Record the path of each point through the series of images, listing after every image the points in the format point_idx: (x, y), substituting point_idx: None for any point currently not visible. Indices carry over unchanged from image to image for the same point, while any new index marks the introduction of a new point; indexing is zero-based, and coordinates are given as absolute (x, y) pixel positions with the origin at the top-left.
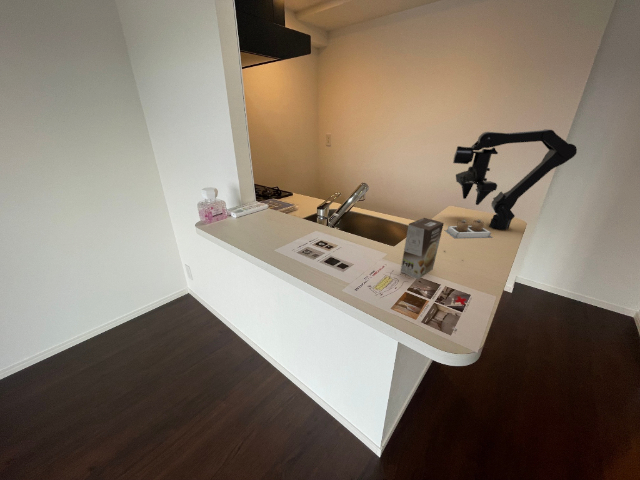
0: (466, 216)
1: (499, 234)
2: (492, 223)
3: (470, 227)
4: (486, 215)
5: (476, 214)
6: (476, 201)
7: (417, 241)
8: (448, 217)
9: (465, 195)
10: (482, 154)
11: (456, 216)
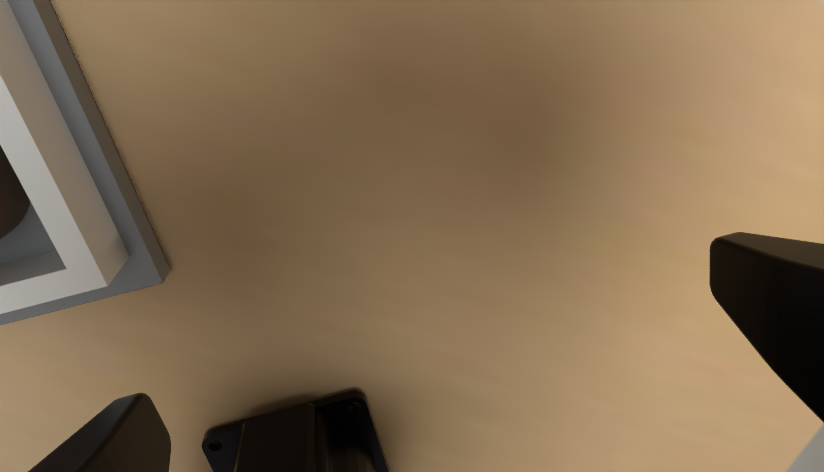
0: (693, 275)
1: None
2: (271, 453)
3: (9, 142)
4: (715, 468)
5: (750, 391)
6: (63, 455)
7: None
8: (661, 25)
9: (779, 314)
10: None
11: (697, 154)
